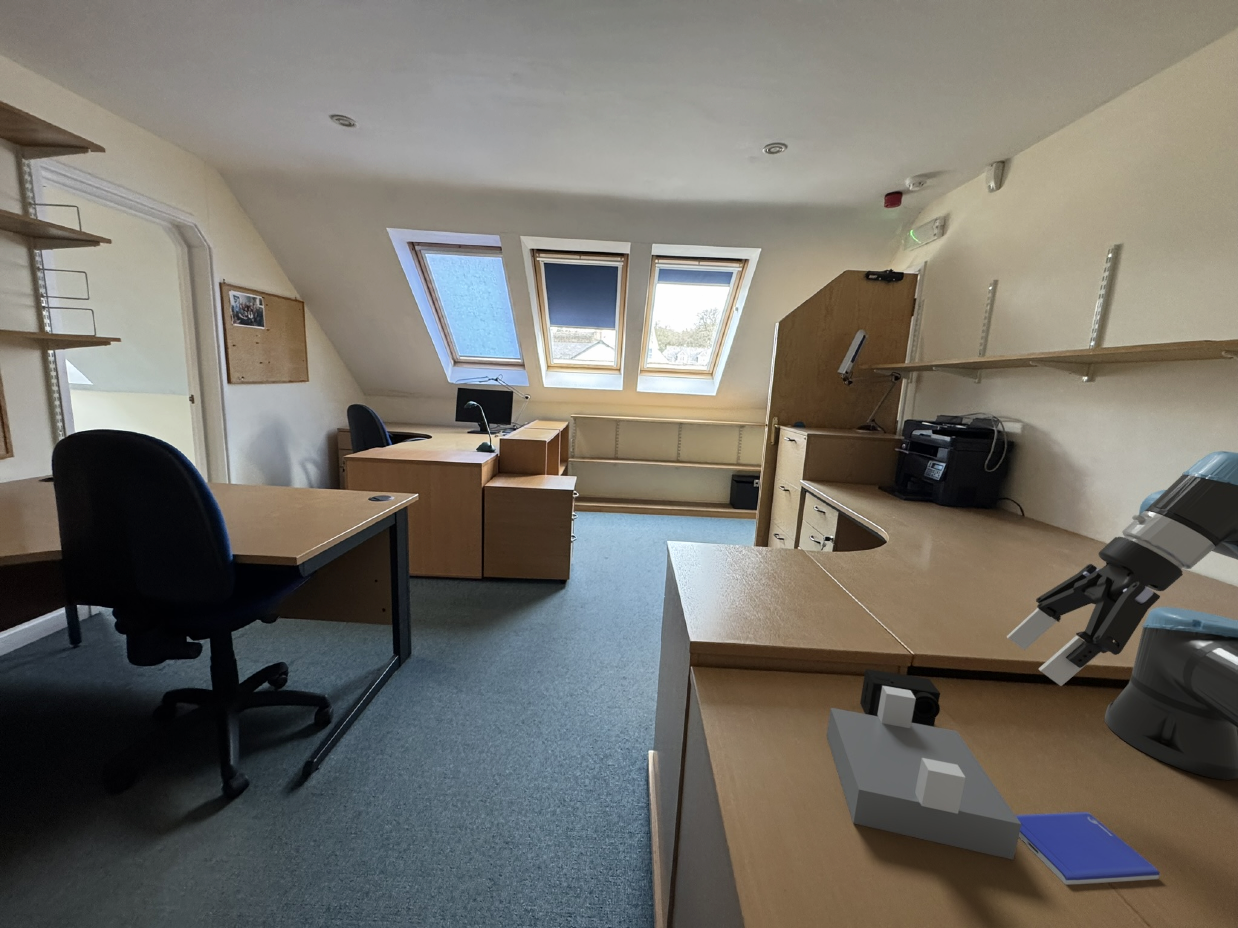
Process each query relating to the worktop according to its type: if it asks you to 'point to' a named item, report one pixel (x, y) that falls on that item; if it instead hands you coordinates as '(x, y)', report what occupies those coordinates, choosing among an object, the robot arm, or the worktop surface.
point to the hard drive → (1082, 849)
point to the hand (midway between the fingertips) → (1030, 659)
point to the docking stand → (918, 779)
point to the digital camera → (919, 686)
